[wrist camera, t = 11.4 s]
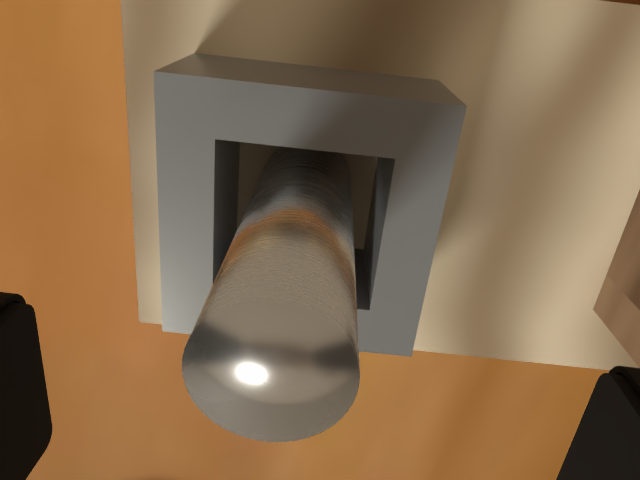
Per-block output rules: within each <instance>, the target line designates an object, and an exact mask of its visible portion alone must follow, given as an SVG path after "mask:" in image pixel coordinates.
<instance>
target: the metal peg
mask: <svg viewBox="0 0 640 480" xmlns="http://www.w3.org/2000/svg"><path fill="white" fill-rule="evenodd" d="M182 372H183V379H184V382H185V386H186V388H187V390H188V393H189V395H190V396H191V398H192V400H193V401H194V403H195V404H196V405H197V407H198V408H199V409H200V410H201V411H202V412H203V413H204V414H205V415H206V416H207V417H208V418H209V419H211V420H212V421H213V422H215V423H216V424H218V425H219V426H221V427H222V428H224V429H226V430H228V431H230V432H232V433H234V434H237V435H240V436H243V437H246V438H250V439H254V440H260V441H267V442H288V441H295V440H300V439H304V438H308V437H311V436H314V435H316V434H319V433H321V432H323V431H325V430H327V429H328V428H330V427H331V426H333V425H334V424H335V423H337V422H338V421H339V420H340V419H341V418H342V417H343V416H344V415H345V414H346V413H347V411H348V410H349V408H350V407H351V405H352V404H353V402H354V400H355V397H356V395H357V391H358V388H359V380H360V370H359V347H358V325H357V302H356V279H355V256H354V233H353V210H352V187H351V174H350V170H349V167H348V164H347V162H346V161H345V159H344V158H343V156H342V155H341V154H340V153H337V152H328V151H319V150H310V149H300V148H291V147H282V146H281V147H279V148H278V149H277V150H276V151H275V152H274V153H273V154H272V155H271V157H270V158H269V160H268V162H267V164H266V166H265V168H264V171H263V173H262V175H261V177H260V180H259V182H258V184H257V186H256V189H255V191H254V193H253V195H252V198H251V200H250V202H249V204H248V207H247V209H246V211H245V213H244V216H243V218H242V220H241V223H240V225H239V227H238V229H237V232H236V234H235V236H234V238H233V241H232V243H231V245H230V247H229V250H228V252H227V254H226V256H225V259H224V261H223V263H222V265H221V268H220V270H219V272H218V274H217V277H216V279H215V281H214V283H213V286H212V288H211V290H210V292H209V295H208V297H207V299H206V301H205V304H204V306H203V308H202V310H201V313H200V315H199V317H198V319H197V322H196V324H195V326H194V328H193V331H192V333H191V335H190V338H189V340H188V342H187V344H186V347H185V350H184V354H183V359H182Z"/></svg>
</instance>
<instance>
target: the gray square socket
mask: <svg viewBox="0 0 640 480" xmlns="http://www.w3.org/2000/svg"><path fill="white" fill-rule="evenodd" d="M154 101H155V130H156V159H157V188H158V217H159V246H160V275H161V304H162V331H166V332H176V333H185V334H191V333H192V331H193V328H194V326H195V324H196V322H197V319H198V317H199V315H200V313H201V310H202V308H203V306H204V304H205V301H206V299H207V297H208V295H209V292H210V290H211V288H212V286H213V283H214V281H215V279H216V277H217V274H218V272H219V270H220V268H221V265H222V263H223V261H224V259H225V256H226V254H227V252H228V250H229V247H230V245H231V243H232V241H233V238H234V236H235V234H236V232H237V209H238V181H239V154H240V142H245V143H254V144H264V145H273V146H282V147H291V148H300V149H310V150H319V151H328V152H337V153H347V154H356V155H365V156H374V157H378V159H377V165H376V172H375V178H374V185H373V191H372V198H371V204H370V210H369V217H368V223H367V230H366V236H365V243H364V249H357V248H354V256H355V279H356V302H357V325H358V347H359V351H361V352H371V353H381V354H391V355H400V356H410V357H411V356H412V351H413V347H414V342H415V338H416V333H417V329H418V324H419V320H420V315H421V311H422V306H423V302H424V297H425V293H426V288H427V284H428V279H429V275H430V270H431V266H432V261H433V257H434V252H435V248H436V243H437V239H438V234H439V230H440V225H441V221H442V216H443V211H444V207H445V202H446V198H447V193H448V189H449V184H450V180H451V175H452V171H453V166H454V162H455V157H456V153H457V148H458V144H459V139H460V135H461V130H462V126H463V121H464V117H465V112H466V108H467V105H465V104H464V103H463V102H462V101H461V100H460V99H459V98H458V97H457V96H455V95H454V94H453V93H452V92H451V91H450V90H449V89H448V88H447V87H445V86H444V85H443V84H442V83H441V82H440V81H439V80H433V79H424V78H415V77H406V76H397V75H388V74H379V73H370V72H361V71H352V70H343V69H334V68H325V67H316V66H307V65H298V64H289V63H280V62H271V61H262V60H253V59H244V58H235V57H226V56H217V55H208V54H199V53H193V54H191V55H189V56H187V57H184V58H182V59H180V60H178V61H175V62H173V63H171V64H169V65H166V66H164V67H162V68H160V69H157V70H155V71H154Z"/></svg>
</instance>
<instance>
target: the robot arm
mask: <svg viewBox="0 0 640 480" xmlns="http://www.w3.org/2000/svg"><path fill="white" fill-rule="evenodd" d="M51 435H52V422H51V415H50V409H49V402H48V396H47V389H46V382H45V376H44V369H43V363H42V356H41V350H40V343H39V336H38V330H37V323H36V317H35V312H34V309H33V307H32V306H31V305H29V304H26V302H25V300H24V298H23V297H22V296H21V295H19V294H12V293H4V292H0V480H26V478H27V477H28V475H29V474H30V472H31V471H32V469H33V468H34V466H35V465H36V463H37V462H38V460H39V459H40V457H41V456H42V455H43V453H44V452H45V450H46V448H47V446H48V444H49V442H50V439H51ZM556 480H640V368H635V367H626V366H615V367H613V368H612V369H611V370H610V372H609V373H604V374H602V375H601V376H600V377H599V379H598V381H597V383H596V385H595V388H594V390H593V393H592V395H591V397H590V400H589V402H588V405H587V407H586V409H585V412H584V414H583V417H582V419H581V421H580V424H579V426H578V429H577V431H576V434H575V436H574V438H573V441H572V443H571V446H570V448H569V450H568V453H567V455H566V458H565V460H564V462H563V465H562V467H561V470H560V472H559V474H558V477H557V479H556Z"/></svg>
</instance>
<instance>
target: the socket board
mask: <svg viewBox="0 0 640 480" xmlns="http://www.w3.org/2000/svg"><path fill="white" fill-rule="evenodd" d="M121 13H122V31H123V48H124V66H125V83H126V100H127V118H128V135H129V153H130V170H131V188H132V205H133V223H134V240H135V258H136V275H137V292H138V310H139V322H145V323H154V324H162V304H161V275H160V246H159V217H158V188H157V159H156V130H155V101H154V71H155V70H157V69H160V68H162V67H164V66H166V65H169V64H171V63H173V62H175V61H178V60H180V59H182V58H184V57H187V56H189V55H191V54H193V53H199V54H208V55H217V56H226V57H235V58H244V59H253V60H262V61H271V62H280V63H289V64H298V65H307V66H316V67H325V68H334V69H343V70H352V71H361V72H370V73H379V74H388V75H397V76H406V77H415V78H424V79H433V80H439V81H440V82H441V83H442V84H443V85H444V86H445V87H447V88H448V89H449V90H450V91H451V92H452V93H453V94H454V95H455V96H457V97H458V98H459V99H460V100H461V101H462V102H463V103H464V104H465V105H467V108H466V112H465V117H464V121H463V126H462V130H461V135H460V139H459V144H458V148H457V153H456V157H455V162H454V166H453V171H452V175H451V180H450V184H449V189H448V193H447V198H446V202H445V207H444V211H443V216H442V221H441V225H440V230H439V234H438V239H437V243H436V248H435V252H434V257H433V261H432V266H431V270H430V275H429V279H428V284H427V288H426V293H425V297H424V302H423V306H422V311H421V315H420V320H419V324H418V329H417V333H416V338H415V342H414V347H413V350H418V351H428V352H437V353H447V354H457V355H467V356H476V357H486V358H496V359H506V360H515V361H525V362H535V363H545V364H554V365H564V366H574V367H584V368H593V369H603V370H611V369H612V368H613V367H615V366H626V367H635V368H640V5H636V4H627V3H619V2H610V1H601V0H121ZM279 147H281V146H273V145H264V144H254V143H245V142H240V154H239V181H238V209H237V229H238V227H239V225H240V223H241V220H242V218H243V216H244V213H245V211H246V209H247V207H248V204H249V202H250V200H251V198H252V195H253V193H254V191H255V189H256V186H257V184H258V182H259V180H260V177H261V175H262V173H263V171H264V168H265V166H266V164H267V162H268V160H269V158H270V157H271V155H272V154H273V153H274V152H275V151H276V150H277V149H278V148H279ZM340 154H341V155H342V156H343V158H344V159H345V161H346V162H347V164H348V167H349V170H350V174H351V187H352V210H353V233H354V248H357V249H364V243H365V236H366V230H367V223H368V217H369V210H370V204H371V198H372V191H373V185H374V178H375V172H376V165H377V159H378V157H374V156H365V155H356V154H347V153H340Z"/></svg>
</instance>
